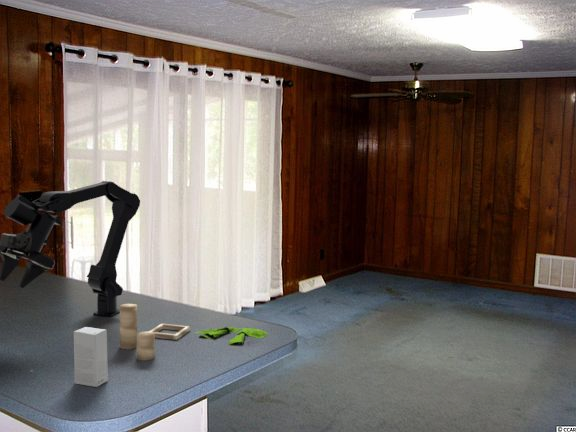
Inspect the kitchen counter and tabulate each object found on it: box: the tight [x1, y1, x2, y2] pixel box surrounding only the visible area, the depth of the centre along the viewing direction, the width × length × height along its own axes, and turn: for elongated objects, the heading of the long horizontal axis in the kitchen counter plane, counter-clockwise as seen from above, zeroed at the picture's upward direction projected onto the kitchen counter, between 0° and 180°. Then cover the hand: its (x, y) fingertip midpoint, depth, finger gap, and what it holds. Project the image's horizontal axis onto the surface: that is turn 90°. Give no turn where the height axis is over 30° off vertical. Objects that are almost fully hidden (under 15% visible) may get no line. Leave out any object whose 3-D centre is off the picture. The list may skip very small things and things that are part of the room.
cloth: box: [194, 326, 269, 346], centre depth 165 cm, size 20×22×2 cm
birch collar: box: [148, 323, 191, 341], centre depth 166 cm, size 9×9×1 cm
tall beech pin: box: [119, 303, 138, 350], centre depth 154 cm, size 4×4×11 cm
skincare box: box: [73, 326, 109, 388], centre depth 130 cm, size 6×4×12 cm
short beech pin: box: [136, 331, 156, 361], centre depth 147 cm, size 4×4×6 cm
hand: (11, 284), depth 159 cm, fingers open, 9 cm apart
